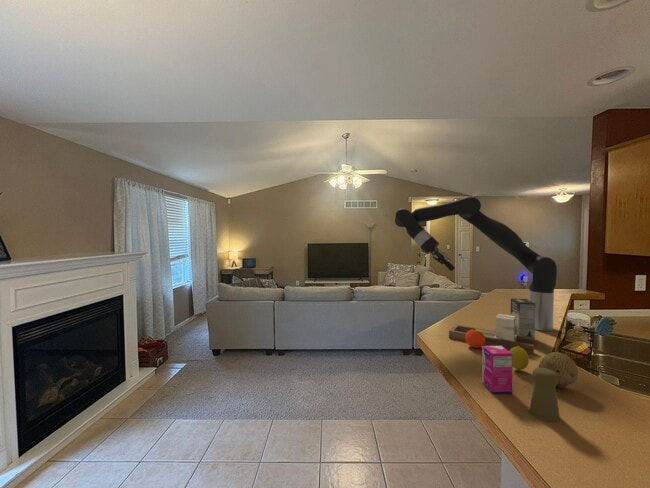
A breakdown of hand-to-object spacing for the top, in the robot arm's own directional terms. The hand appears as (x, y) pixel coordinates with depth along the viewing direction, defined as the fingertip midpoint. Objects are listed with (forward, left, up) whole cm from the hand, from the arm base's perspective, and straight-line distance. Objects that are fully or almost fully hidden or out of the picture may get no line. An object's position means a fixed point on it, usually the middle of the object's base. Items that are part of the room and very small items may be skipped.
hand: (453, 269), depth 136 cm
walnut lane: (+4, +16, -28) cm, 32 cm away
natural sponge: (+35, +37, -28) cm, 58 cm away
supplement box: (+46, +23, -28) cm, 59 cm away
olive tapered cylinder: (+53, +34, -28) cm, 69 cm away
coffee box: (-7, +26, -28) cm, 39 cm away
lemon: (+29, +27, -28) cm, 49 cm away
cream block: (+5, +21, -25) cm, 33 cm away
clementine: (+15, +12, -28) cm, 34 cm away
